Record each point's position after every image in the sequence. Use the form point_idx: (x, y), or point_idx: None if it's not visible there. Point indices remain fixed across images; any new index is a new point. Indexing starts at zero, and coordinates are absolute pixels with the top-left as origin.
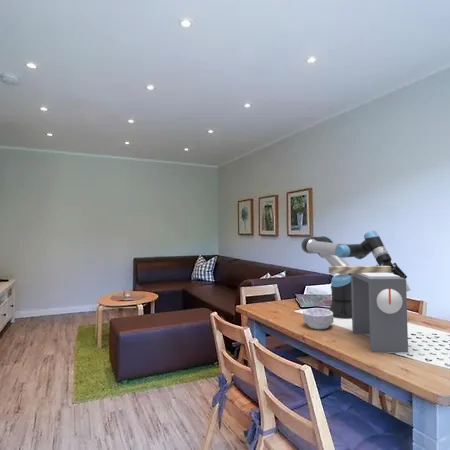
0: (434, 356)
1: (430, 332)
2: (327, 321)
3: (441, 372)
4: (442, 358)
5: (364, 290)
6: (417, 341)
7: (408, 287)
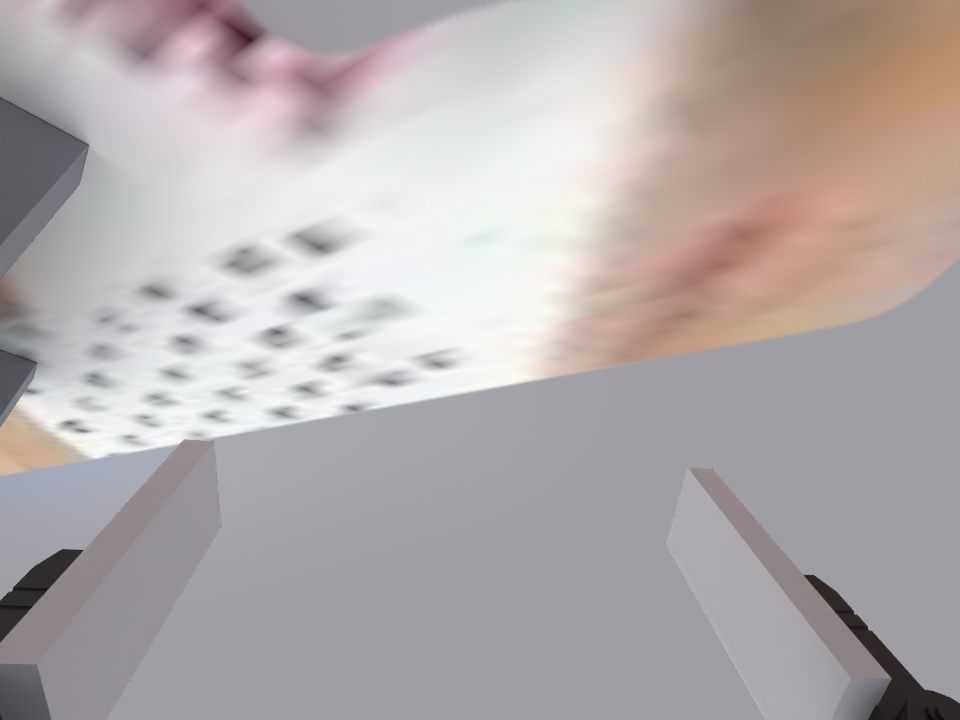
0: (131, 429)
1: (452, 343)
2: None
3: (45, 461)
4: (147, 443)
5: None
6: (212, 354)
7: (686, 572)
